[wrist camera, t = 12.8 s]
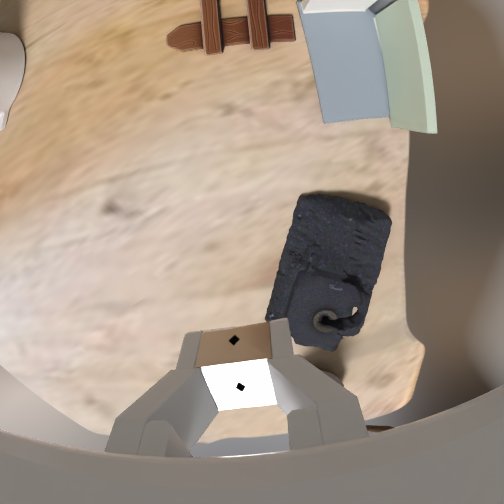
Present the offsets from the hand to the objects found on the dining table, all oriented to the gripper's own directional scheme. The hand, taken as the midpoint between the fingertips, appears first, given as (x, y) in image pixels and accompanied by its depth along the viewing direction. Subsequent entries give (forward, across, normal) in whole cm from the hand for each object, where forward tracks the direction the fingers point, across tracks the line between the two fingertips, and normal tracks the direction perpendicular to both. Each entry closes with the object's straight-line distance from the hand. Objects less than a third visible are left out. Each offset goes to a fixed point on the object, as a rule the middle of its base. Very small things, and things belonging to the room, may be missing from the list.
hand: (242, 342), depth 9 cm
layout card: (+31, +15, +12) cm, 36 cm away
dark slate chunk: (+32, +8, -16) cm, 36 cm away
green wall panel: (+30, +19, +10) cm, 37 cm away
